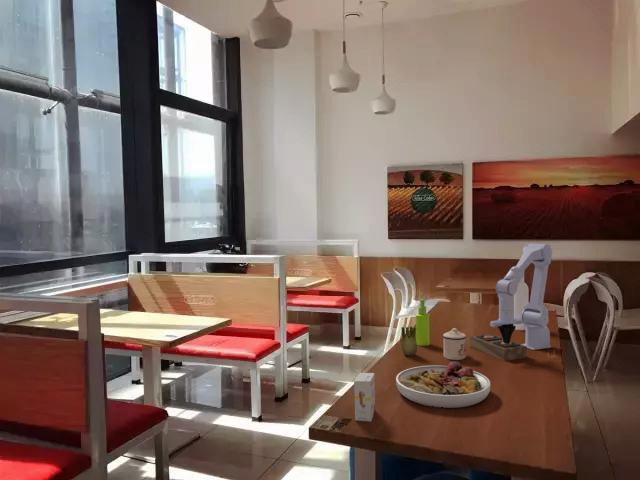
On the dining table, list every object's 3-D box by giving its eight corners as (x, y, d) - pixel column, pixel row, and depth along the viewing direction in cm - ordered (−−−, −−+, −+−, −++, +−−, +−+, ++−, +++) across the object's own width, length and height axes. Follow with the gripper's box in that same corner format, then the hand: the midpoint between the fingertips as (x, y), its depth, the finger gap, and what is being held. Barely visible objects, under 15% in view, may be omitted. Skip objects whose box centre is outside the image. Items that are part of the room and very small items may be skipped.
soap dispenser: (430, 342, 238) (430, 297, 237) (428, 346, 232) (428, 300, 230) (417, 341, 240) (417, 297, 239) (415, 345, 234) (414, 300, 232)
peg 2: (507, 353, 218) (507, 341, 218) (514, 355, 214) (514, 343, 214) (498, 354, 217) (498, 342, 216) (505, 357, 213) (505, 344, 212)
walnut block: (491, 344, 233) (491, 332, 232) (527, 357, 212) (527, 344, 212) (470, 347, 229) (470, 335, 229) (504, 360, 208) (504, 347, 208)
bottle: (531, 330, 256) (531, 268, 254) (514, 330, 256) (514, 268, 254) (525, 326, 264) (525, 266, 262) (509, 326, 264) (509, 266, 262)
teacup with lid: (463, 361, 209) (462, 332, 208) (440, 358, 213) (439, 330, 212) (470, 353, 219) (470, 325, 218) (448, 351, 223) (448, 323, 223)
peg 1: (490, 346, 228) (490, 335, 228) (496, 349, 224) (496, 337, 224) (482, 347, 227) (481, 336, 227) (488, 350, 223) (488, 338, 223)
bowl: (475, 419, 154) (475, 392, 154) (381, 400, 170) (380, 376, 169) (500, 387, 179) (500, 364, 179) (416, 374, 195) (416, 353, 195)
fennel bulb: (400, 355, 219) (399, 326, 218) (407, 352, 223) (406, 324, 222) (412, 357, 215) (412, 328, 215) (418, 355, 219) (418, 326, 218)
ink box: (359, 409, 162) (358, 371, 162) (375, 410, 161) (375, 372, 160) (354, 420, 154) (353, 380, 153) (371, 422, 153) (370, 381, 152)
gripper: (514, 306, 220) (514, 338, 221) (485, 309, 215) (485, 342, 216) (526, 309, 214) (526, 342, 215) (496, 312, 209) (496, 346, 210)
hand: (506, 342), depth 215 cm, fingers closed
